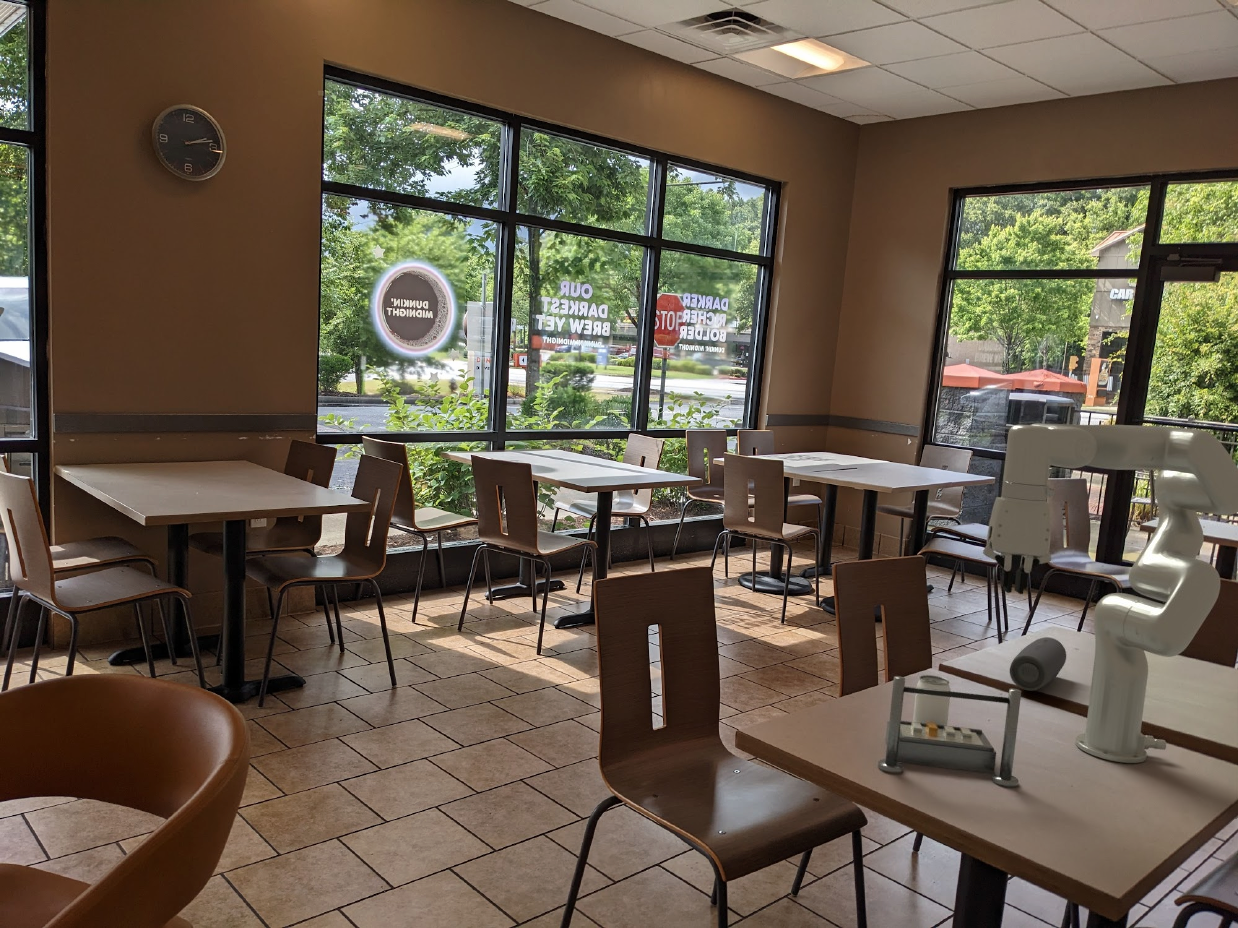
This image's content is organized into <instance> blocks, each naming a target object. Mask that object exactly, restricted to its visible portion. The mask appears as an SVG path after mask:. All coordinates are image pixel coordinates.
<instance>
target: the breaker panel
mask: <svg viewBox="0 0 1238 928" xmlns="http://www.w3.org/2000/svg"><path fill="white" fill-rule="evenodd" d="M885 729H886V731H885V740H884V741H886V742H885V744H886V746H887V740H888V730H889V721H886V728H885ZM996 758H997V751H996V750H995V748H994V747H993V745H992V743H990V741H989V739H988V738H987V736H986V735H985V733H984V732H983V730H982V729H979V728H969V727H963V726H962V727H961V726H951V725H947V726H944V725H936V724H935V723H930V722H926V723H918V722H913V721H907V720H901V726H900V736H899V746H898V755H897V762H899V763H900V762H902V763H903V764H910V765H920V766H927V767H935V768H942V767H943V769H952V770H959V771H970V772H976V773H978V772H979V773H987V774H994V773H995V768H996V767H995V766H996ZM902 763H901V764H902Z"/></svg>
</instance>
